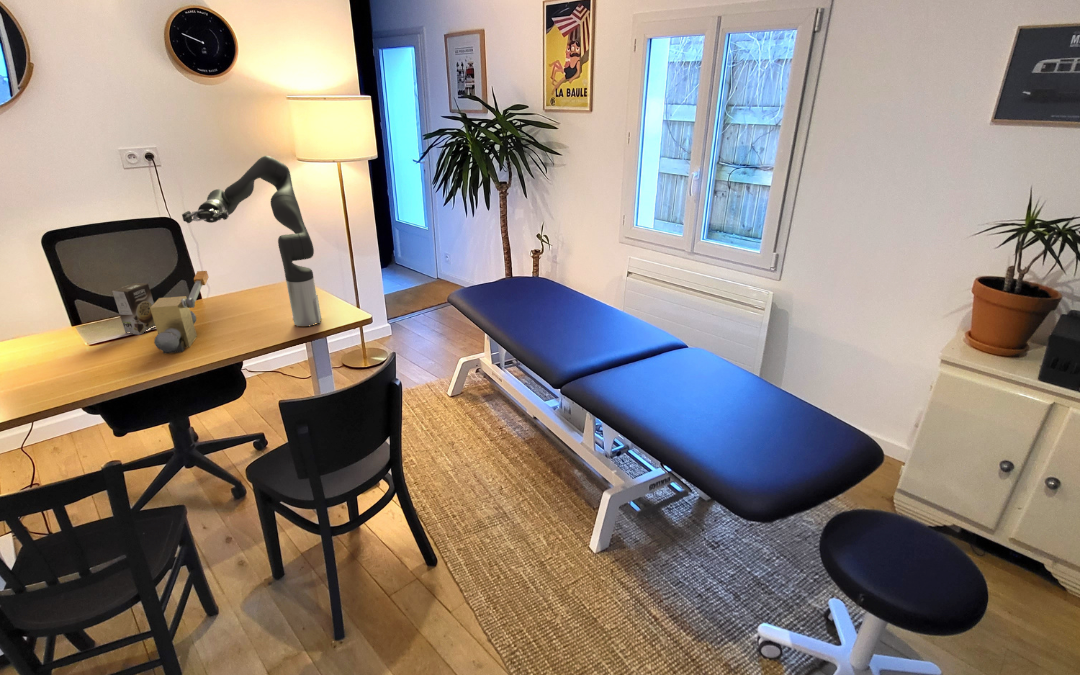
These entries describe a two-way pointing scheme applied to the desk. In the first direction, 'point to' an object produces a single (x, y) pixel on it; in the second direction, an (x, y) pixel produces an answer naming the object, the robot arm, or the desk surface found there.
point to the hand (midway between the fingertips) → (200, 219)
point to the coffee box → (135, 307)
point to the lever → (196, 287)
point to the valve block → (173, 324)
